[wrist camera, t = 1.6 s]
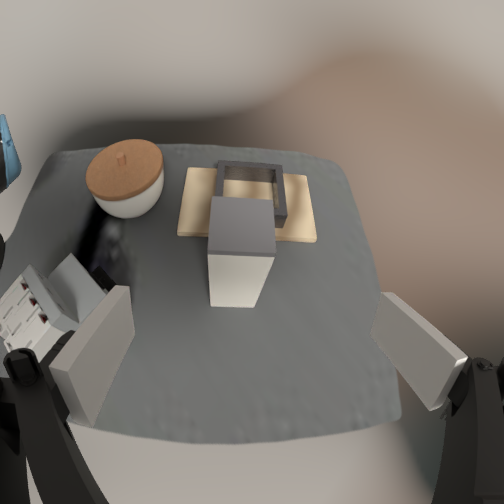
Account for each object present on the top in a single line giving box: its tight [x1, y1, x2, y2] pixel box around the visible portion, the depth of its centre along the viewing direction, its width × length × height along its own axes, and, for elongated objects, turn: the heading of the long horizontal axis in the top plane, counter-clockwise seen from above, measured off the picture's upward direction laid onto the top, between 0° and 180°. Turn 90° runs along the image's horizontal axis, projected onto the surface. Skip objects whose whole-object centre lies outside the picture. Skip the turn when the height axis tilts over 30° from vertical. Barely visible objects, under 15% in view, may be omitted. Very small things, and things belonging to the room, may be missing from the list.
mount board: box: [177, 168, 317, 243], centre depth 46 cm, size 22×14×1 cm, turn 91°
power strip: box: [208, 196, 277, 308], centre depth 32 cm, size 6×6×16 cm
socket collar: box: [215, 160, 288, 228], centre depth 44 cm, size 11×11×4 cm
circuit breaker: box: [0, 253, 117, 362], centre depth 27 cm, size 8×14×15 cm, turn 143°
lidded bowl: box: [86, 139, 164, 218], centre depth 40 cm, size 13×13×11 cm
